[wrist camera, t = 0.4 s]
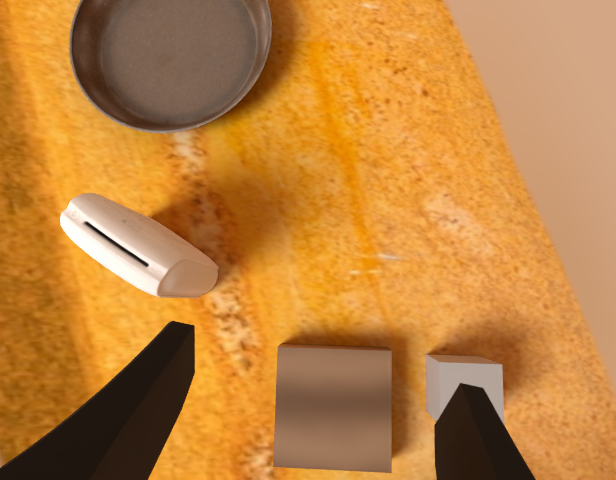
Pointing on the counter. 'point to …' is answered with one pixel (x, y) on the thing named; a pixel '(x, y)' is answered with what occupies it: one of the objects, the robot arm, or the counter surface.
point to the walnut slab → (333, 408)
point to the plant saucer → (168, 58)
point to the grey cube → (461, 380)
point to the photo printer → (138, 248)
